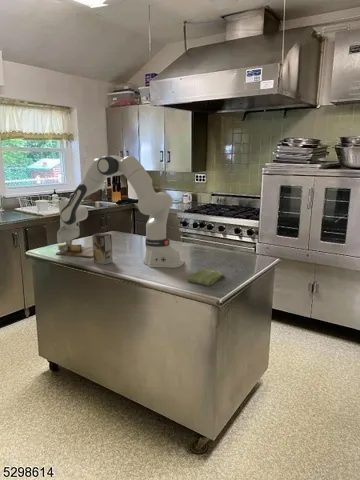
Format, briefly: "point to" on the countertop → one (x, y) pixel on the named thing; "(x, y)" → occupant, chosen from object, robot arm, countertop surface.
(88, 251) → the board
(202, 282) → the washcloth
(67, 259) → the countertop surface
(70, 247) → the bar
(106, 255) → the coffee box
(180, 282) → the countertop surface
